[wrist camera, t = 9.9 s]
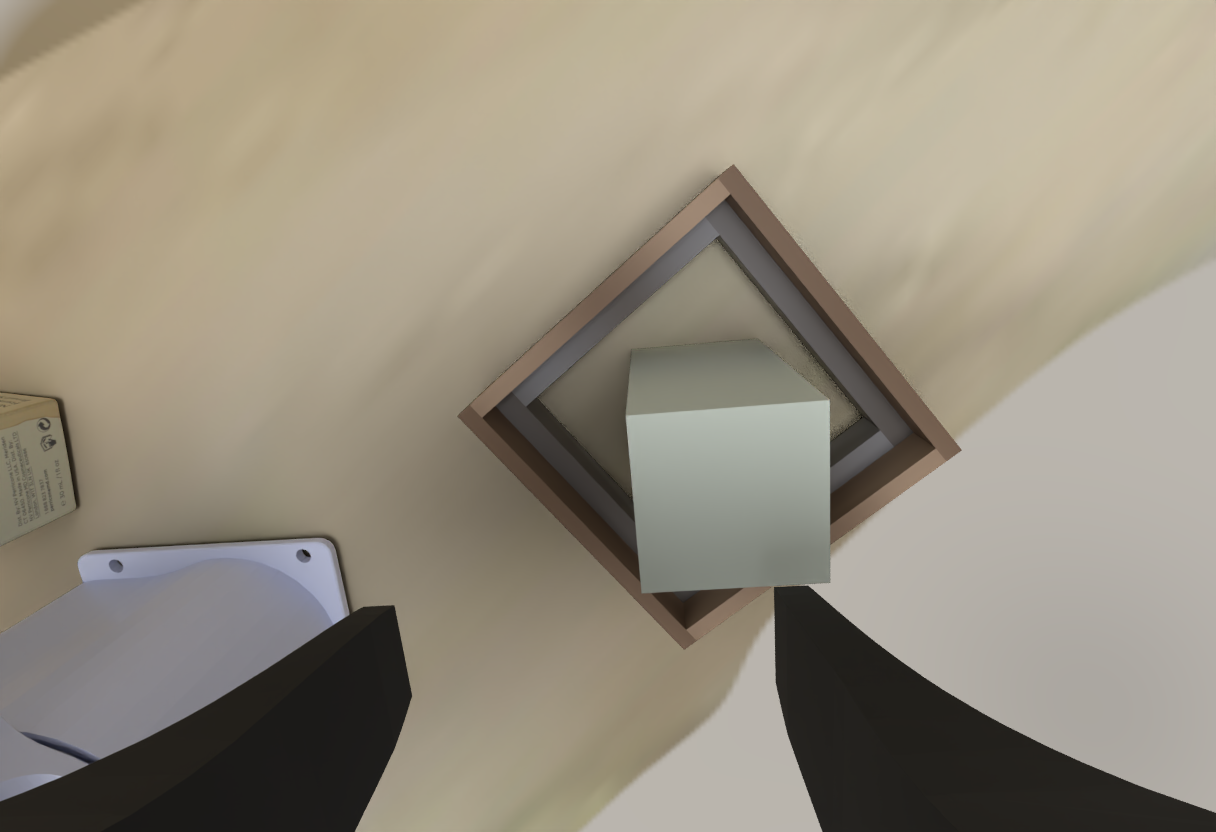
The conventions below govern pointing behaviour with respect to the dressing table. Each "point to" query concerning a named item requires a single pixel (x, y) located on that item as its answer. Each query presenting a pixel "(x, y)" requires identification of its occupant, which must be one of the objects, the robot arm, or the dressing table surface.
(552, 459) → the bore box
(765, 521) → the sage peg
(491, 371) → the dressing table surface
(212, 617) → the robot arm
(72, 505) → the skincare box
